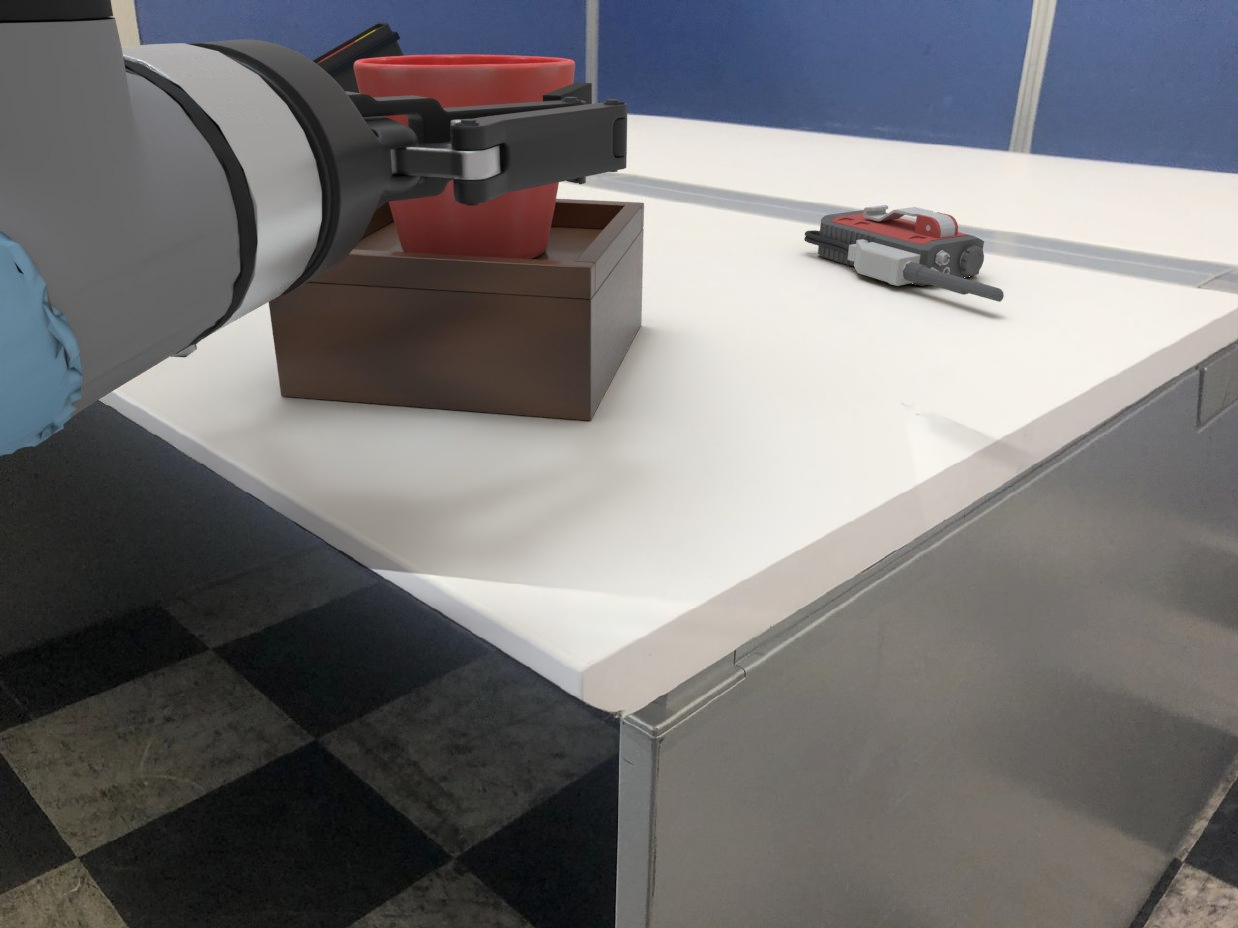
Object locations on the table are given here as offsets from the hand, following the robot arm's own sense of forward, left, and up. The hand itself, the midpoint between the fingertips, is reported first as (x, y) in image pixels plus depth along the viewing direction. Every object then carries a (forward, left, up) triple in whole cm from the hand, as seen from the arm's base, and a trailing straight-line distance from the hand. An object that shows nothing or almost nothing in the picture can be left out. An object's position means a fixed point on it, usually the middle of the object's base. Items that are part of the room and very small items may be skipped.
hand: (444, 109), depth 49 cm
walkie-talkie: (+26, +28, -14) cm, 40 cm away
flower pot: (0, +4, -8) cm, 9 cm away
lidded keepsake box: (0, +4, -14) cm, 14 cm away
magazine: (-34, +71, -14) cm, 79 cm away
